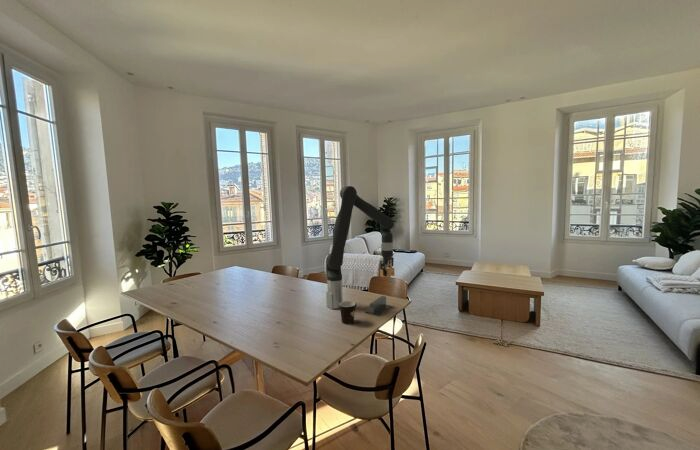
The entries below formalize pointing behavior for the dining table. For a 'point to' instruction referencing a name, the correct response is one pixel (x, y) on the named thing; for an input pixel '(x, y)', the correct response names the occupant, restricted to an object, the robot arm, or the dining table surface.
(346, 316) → the coffee mug
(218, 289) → the dining table surface
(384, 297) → the rail
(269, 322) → the dining table surface
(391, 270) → the block
